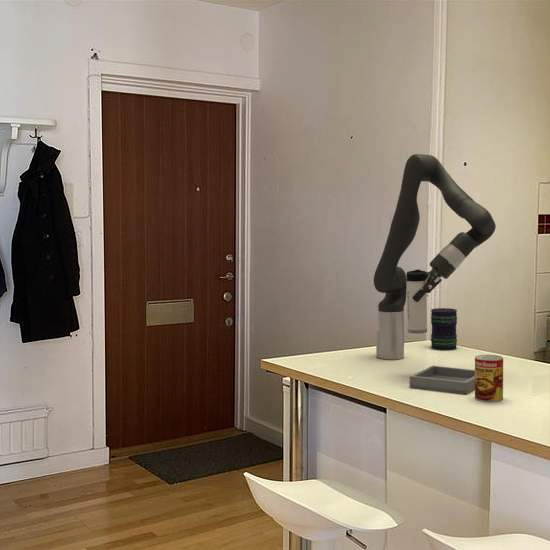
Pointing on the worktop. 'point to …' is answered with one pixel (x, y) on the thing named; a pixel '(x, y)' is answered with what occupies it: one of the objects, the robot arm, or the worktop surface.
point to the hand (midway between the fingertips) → (412, 298)
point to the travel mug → (416, 303)
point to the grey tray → (444, 380)
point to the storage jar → (443, 329)
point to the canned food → (489, 378)
